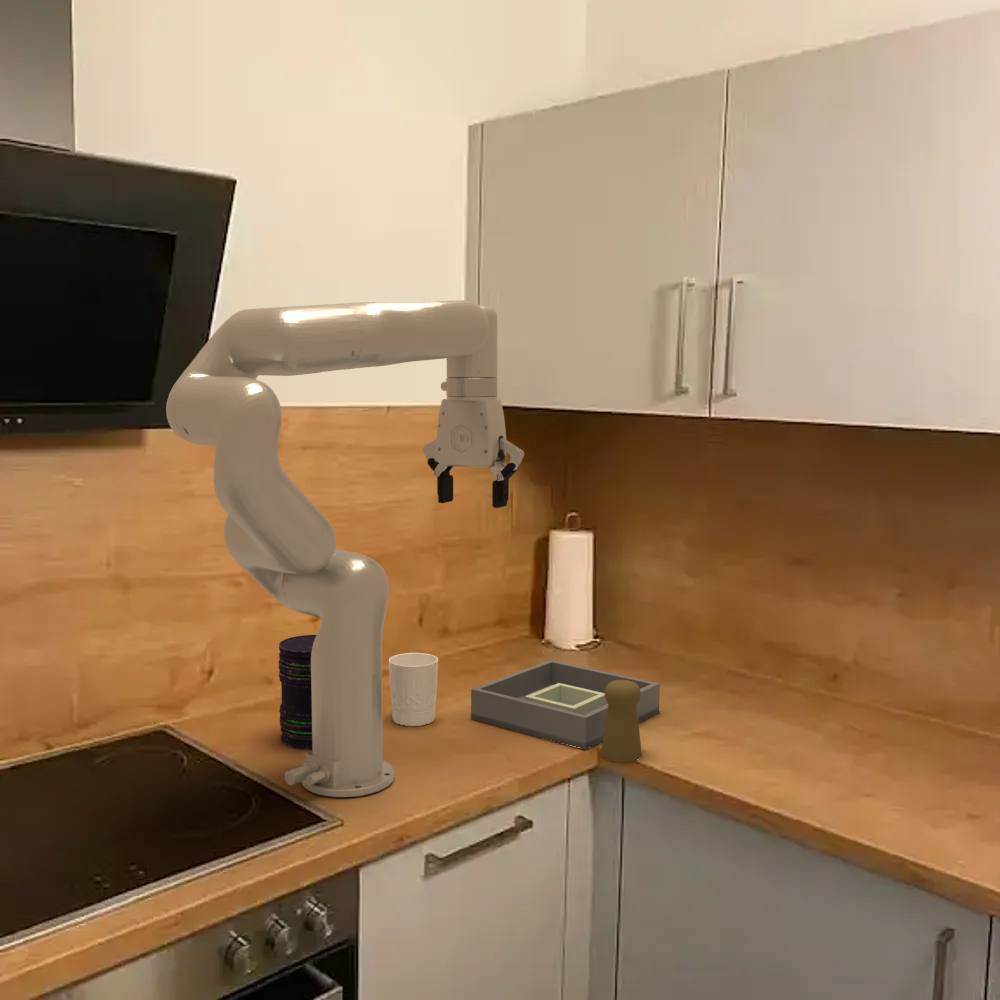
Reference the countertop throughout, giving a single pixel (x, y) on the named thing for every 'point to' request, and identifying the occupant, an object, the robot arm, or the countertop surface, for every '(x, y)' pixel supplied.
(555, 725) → the open box
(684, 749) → the countertop surface
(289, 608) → the robot arm
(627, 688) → the brown pepper mill
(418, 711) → the white cup
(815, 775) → the countertop surface
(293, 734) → the storage jar
